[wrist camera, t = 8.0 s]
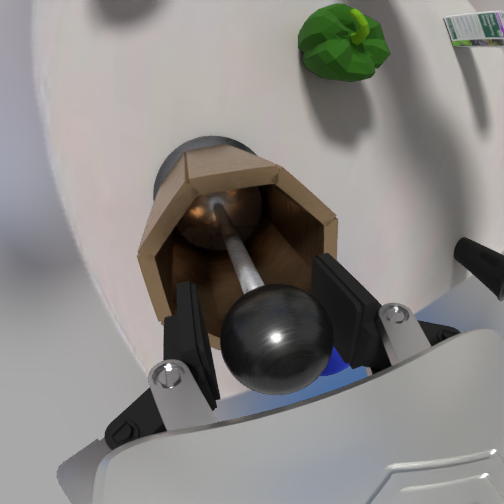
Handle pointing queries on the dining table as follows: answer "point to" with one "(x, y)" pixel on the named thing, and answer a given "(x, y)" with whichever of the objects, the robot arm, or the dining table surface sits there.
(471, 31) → the syrup box
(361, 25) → the bell pepper
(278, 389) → the plunger
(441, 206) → the dining table surface
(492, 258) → the drinking cup
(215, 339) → the tan octagonal hollow container
